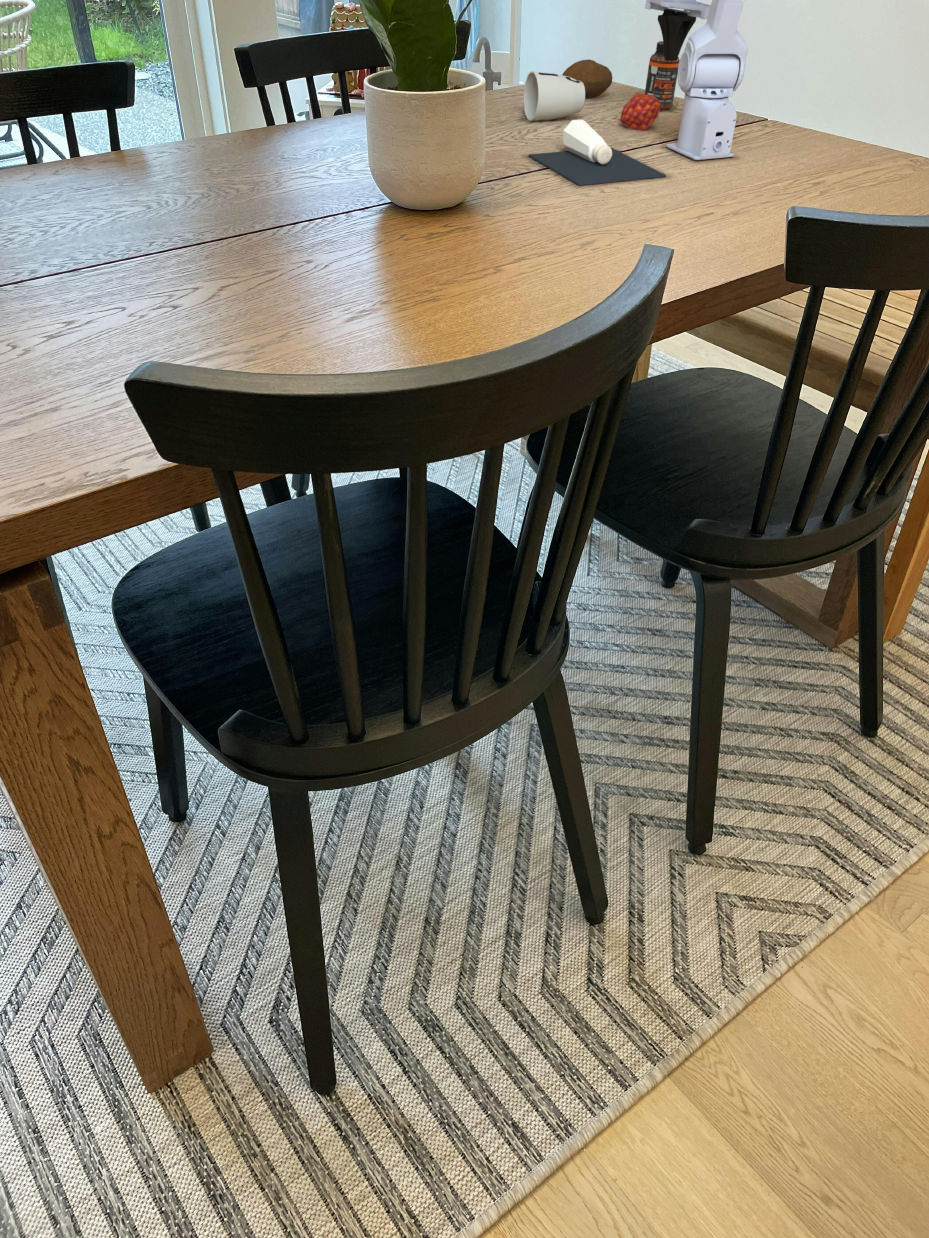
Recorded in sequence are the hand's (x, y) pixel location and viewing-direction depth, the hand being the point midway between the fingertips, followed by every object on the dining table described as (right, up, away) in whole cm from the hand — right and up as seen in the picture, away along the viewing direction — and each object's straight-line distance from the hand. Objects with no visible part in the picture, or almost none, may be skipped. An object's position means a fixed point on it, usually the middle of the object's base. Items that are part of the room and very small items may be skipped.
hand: (670, 60), depth 171 cm
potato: (-13, +5, +22) cm, 26 cm away
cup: (-16, -4, +5) cm, 17 cm away
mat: (-17, -29, -18) cm, 38 cm away
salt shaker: (-19, -21, -13) cm, 31 cm away
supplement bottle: (+1, 0, +17) cm, 17 cm away
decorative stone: (-5, -11, +3) cm, 13 cm away
